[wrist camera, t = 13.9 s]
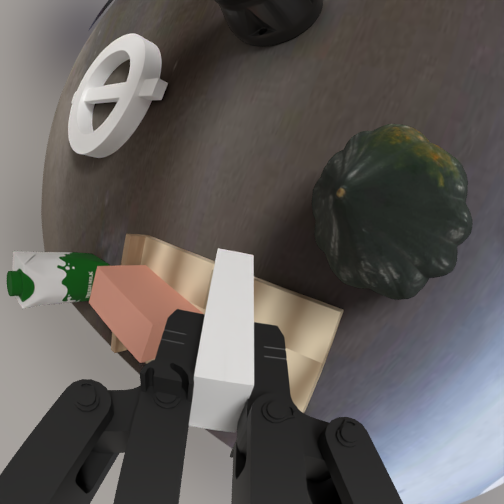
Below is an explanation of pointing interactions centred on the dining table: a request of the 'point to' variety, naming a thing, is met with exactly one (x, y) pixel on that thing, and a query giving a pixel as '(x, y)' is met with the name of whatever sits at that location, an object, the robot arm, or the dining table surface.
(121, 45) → the ring with crossbar
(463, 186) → the squash
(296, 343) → the board
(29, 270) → the milk carton
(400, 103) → the dining table surface
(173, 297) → the brick
